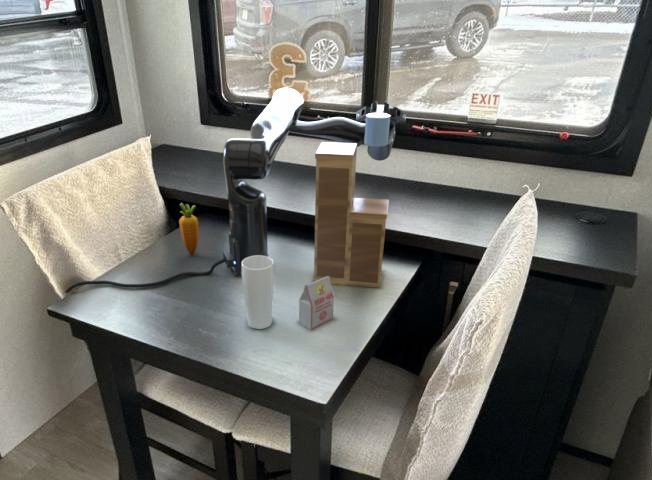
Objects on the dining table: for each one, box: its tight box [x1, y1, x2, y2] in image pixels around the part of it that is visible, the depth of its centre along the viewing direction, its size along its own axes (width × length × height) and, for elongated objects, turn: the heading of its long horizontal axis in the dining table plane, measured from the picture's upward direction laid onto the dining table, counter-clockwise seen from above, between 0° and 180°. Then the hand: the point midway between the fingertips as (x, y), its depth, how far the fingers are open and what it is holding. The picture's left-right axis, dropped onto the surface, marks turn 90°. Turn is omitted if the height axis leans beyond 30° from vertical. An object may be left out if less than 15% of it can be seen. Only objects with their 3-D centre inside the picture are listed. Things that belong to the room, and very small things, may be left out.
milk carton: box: [298, 276, 335, 331], centre depth 118 cm, size 4×7×10 cm, turn 129°
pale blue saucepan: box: [363, 104, 390, 147], centre depth 134 cm, size 18×6×7 cm, turn 167°
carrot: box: [178, 202, 199, 257], centre depth 146 cm, size 5×5×15 cm
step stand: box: [313, 141, 390, 289], centre depth 130 cm, size 10×16×32 cm, turn 77°
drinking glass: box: [241, 255, 275, 330], centre depth 116 cm, size 7×7×15 cm
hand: (380, 105), depth 136 cm, fingers closed on pale blue saucepan
